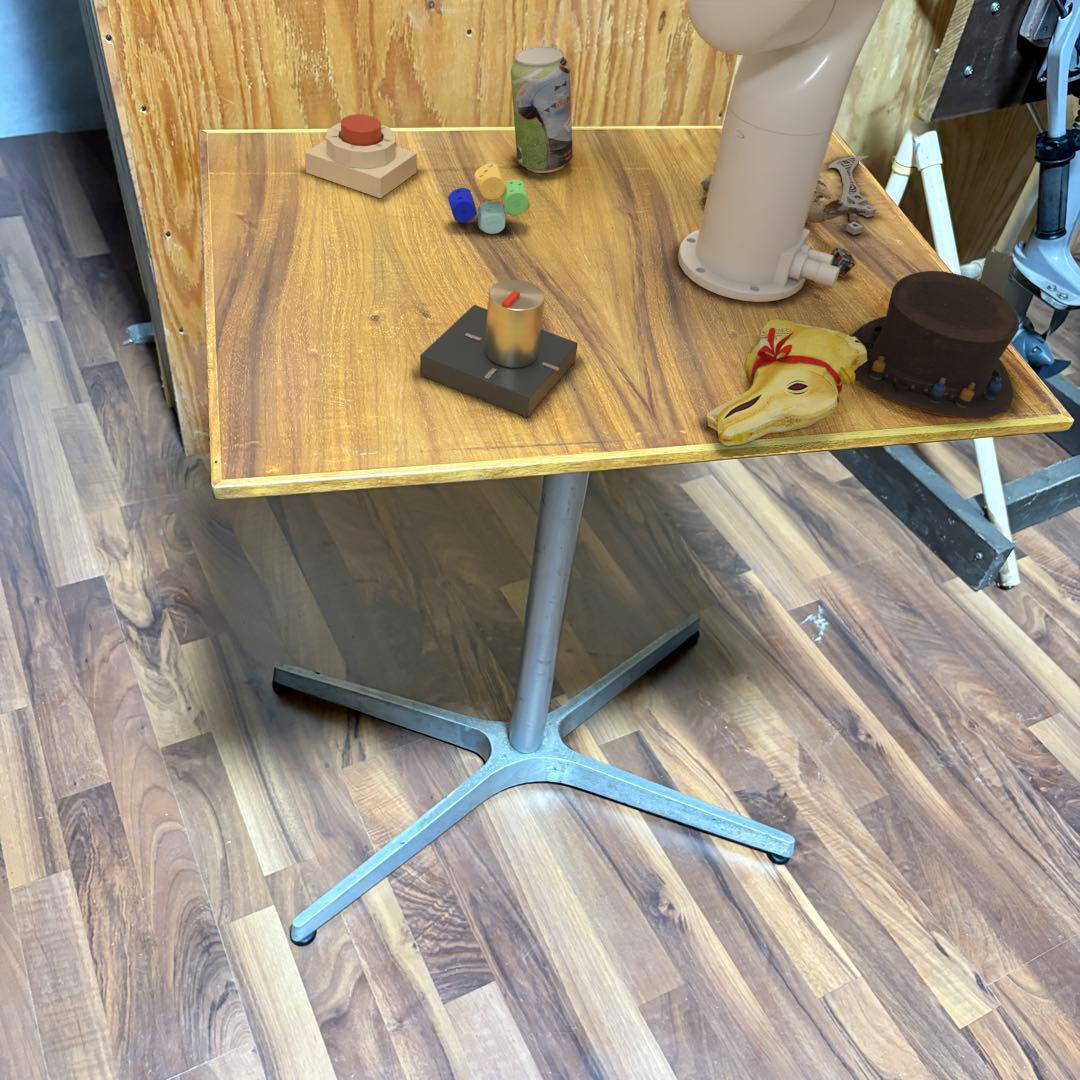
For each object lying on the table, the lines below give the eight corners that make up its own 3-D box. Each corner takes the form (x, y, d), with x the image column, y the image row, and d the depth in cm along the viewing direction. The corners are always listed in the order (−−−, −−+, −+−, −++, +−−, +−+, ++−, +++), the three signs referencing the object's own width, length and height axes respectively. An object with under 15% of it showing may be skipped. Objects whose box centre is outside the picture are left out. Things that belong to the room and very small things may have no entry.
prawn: (826, 109, 119) (787, 161, 124) (747, 70, 114) (709, 126, 118) (914, 251, 105) (866, 303, 109) (828, 214, 99) (781, 271, 103)
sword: (829, 231, 112) (877, 239, 112) (831, 224, 111) (880, 231, 111) (826, 153, 126) (868, 159, 126) (828, 146, 126) (871, 152, 125)
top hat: (1016, 444, 89) (1073, 340, 82) (838, 402, 91) (877, 296, 83) (1007, 346, 100) (1056, 246, 92) (847, 311, 101) (882, 209, 94)
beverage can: (571, 182, 114) (585, 68, 106) (502, 175, 114) (511, 60, 105) (571, 155, 119) (584, 44, 110) (505, 149, 118) (513, 37, 110)
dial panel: (578, 363, 91) (581, 342, 90) (530, 418, 85) (533, 397, 84) (472, 323, 94) (474, 302, 92) (419, 374, 88) (420, 353, 86)
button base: (416, 172, 112) (417, 135, 110) (380, 198, 108) (380, 160, 105) (344, 148, 115) (343, 111, 112) (306, 172, 110) (303, 135, 107)
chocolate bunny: (885, 381, 89) (792, 484, 81) (770, 358, 96) (674, 452, 88) (882, 308, 85) (784, 410, 77) (762, 290, 91) (661, 382, 84)
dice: (448, 233, 104) (451, 171, 100) (445, 220, 106) (448, 158, 101) (529, 234, 106) (535, 173, 101) (525, 221, 107) (531, 160, 103)
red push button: (388, 138, 109) (388, 121, 108) (367, 152, 107) (366, 135, 106) (355, 127, 110) (355, 110, 109) (333, 140, 108) (332, 123, 107)
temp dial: (499, 330, 90) (504, 270, 86) (546, 347, 89) (554, 286, 85) (475, 356, 87) (479, 295, 83) (523, 374, 86) (530, 313, 82)
